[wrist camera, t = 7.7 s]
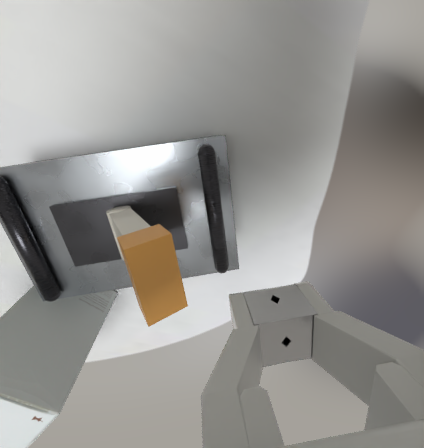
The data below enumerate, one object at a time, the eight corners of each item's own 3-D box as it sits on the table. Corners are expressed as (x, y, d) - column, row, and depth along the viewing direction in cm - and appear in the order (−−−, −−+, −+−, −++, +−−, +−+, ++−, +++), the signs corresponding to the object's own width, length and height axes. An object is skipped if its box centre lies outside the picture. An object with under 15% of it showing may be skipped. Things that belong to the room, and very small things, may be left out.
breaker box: (33, 162, 20) (-46, 174, 13) (216, 135, 21) (228, 134, 14) (77, 263, 24) (33, 311, 18) (228, 239, 25) (242, 276, 18)
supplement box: (60, 258, 24) (-66, 375, 12) (119, 292, 26) (62, 418, 14) (28, 301, 25) (-111, 441, 14) (86, 330, 28) (10, 470, 16)
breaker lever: (100, 208, 15) (123, 250, 8) (129, 200, 16) (171, 233, 9) (117, 257, 17) (148, 326, 10) (143, 248, 18) (187, 306, 11)
